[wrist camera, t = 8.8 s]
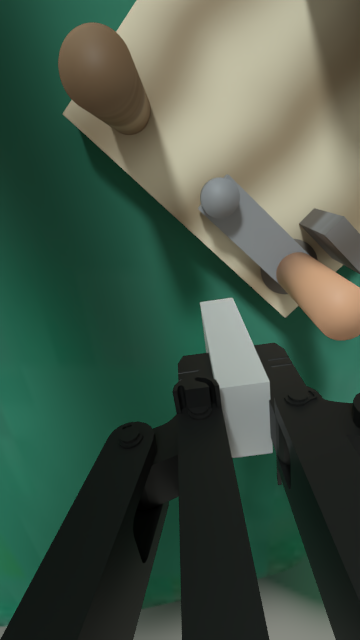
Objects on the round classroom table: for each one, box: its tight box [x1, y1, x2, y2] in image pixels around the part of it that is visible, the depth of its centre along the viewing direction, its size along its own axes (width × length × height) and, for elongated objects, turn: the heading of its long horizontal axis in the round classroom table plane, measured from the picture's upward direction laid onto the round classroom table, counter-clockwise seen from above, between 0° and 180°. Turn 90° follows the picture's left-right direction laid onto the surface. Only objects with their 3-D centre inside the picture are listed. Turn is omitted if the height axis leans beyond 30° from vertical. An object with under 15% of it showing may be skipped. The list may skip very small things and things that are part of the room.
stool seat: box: [58, 0, 360, 318], centre depth 16 cm, size 18×18×10 cm
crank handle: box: [198, 174, 360, 340], centre depth 17 cm, size 9×2×8 cm, turn 49°
